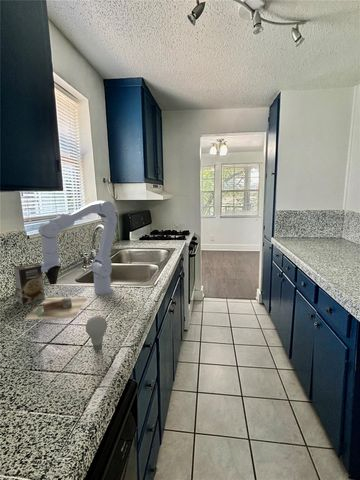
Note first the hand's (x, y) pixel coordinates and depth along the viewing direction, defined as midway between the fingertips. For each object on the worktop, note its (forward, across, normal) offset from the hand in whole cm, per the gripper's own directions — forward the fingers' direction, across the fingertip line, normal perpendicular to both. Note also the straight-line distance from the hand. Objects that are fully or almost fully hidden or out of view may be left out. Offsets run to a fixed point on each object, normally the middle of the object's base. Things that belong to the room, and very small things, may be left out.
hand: (53, 283), depth 105 cm
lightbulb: (+10, +33, +25) cm, 43 cm away
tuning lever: (+9, +5, +2) cm, 10 cm away
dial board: (+10, +3, +3) cm, 11 cm away
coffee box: (+10, -6, -12) cm, 17 cm away
